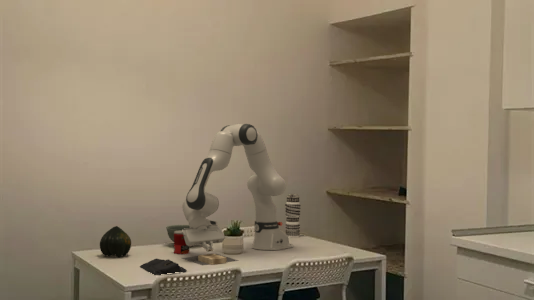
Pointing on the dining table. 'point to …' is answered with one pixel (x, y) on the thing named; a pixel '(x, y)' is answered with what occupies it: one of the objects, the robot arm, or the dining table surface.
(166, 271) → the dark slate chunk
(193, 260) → the rubber mat
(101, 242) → the squash
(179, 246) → the canned food
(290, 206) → the decorative candle
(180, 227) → the bowl
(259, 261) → the dining table surface
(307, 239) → the dining table surface
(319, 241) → the dining table surface
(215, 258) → the beech tile
